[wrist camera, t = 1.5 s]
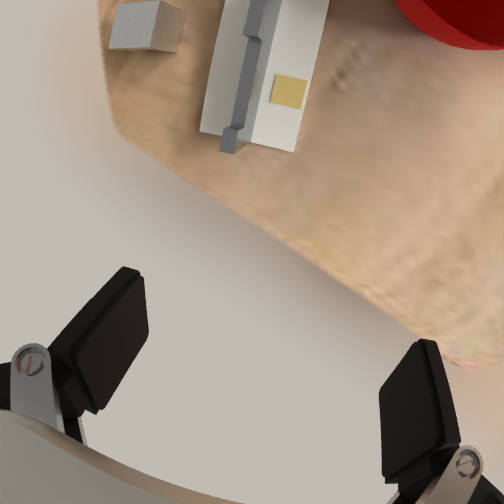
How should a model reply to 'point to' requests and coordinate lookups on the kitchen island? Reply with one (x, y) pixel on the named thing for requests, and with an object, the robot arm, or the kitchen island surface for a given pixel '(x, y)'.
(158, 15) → the clip
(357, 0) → the kitchen island surface
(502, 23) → the ceramic cup
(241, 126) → the rail
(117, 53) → the kitchen island surface
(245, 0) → the base board
